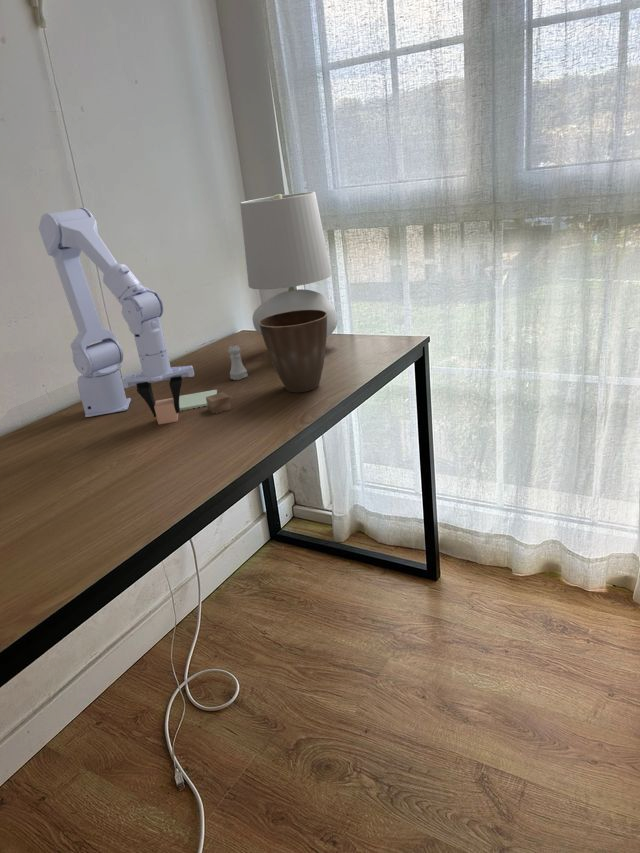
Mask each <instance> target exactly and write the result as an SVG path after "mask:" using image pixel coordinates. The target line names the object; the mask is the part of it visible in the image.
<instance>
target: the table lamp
mask: <svg viewBox="0 0 640 853" xmlns="http://www.w3.org/2000/svg"><path fill="white" fill-rule="evenodd" d="M239 204H240V213H241V224H242V234H243V242H244V243H243V244H244V253H245V254H244V256H245V264H246V274H247V284H248V287H249V288H250V289H253V290H279V289H285V288H287V289H288V290H286V291H282V292H280V293H277V294H275V295H273V296H272V297H270V298H268V299H267V300H265V301H264V302H262V303H261V304H260V305H259V306H258V307H257V308H256V309H255V310H254V312H253V314H252V324H253V327H254V329H255V331H256V333H258V334H259V335H260V337H262V338H263V336H262V332H261V329H260V326H259V321H260V320H262V319H264V318H266V317H268V316H271V315H275V314H279V313H283V312H289V311H296V310H322V311H325V312H326V313H327V338H328V337H329V336H331V335H332V334H333V332H335V330H336V328H337V326H338V317H337V313H336V310H335V307H334V305H333V304H332V302H331V301H330V300H329V299H328V298H327V297H326V296H325V295H324V294H322V293H320V292H319V291H315V290H311V289H298V288H297V289H295V287H301V286H305V285H308V284H309V285H310V284H313V283H317V282H320V281H323V280H326V279H328V278H330V277H331V276H332V275H333V273H332V269H331V264H330V259H329V254H328V248H327V244H326V240H325V239H326V238H325V234H324V230H323V225H322V220H321V215H320V211H319V210H320V209H319V204H318V199H317V193H316V192H315V191H307V192H296V193H289V194H280V193H279V194H275V195H274V194H273V196H267V197H262V198H256V199H251V200H246V201H241V202H240V203H239Z"/></svg>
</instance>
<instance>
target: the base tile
mask: <svg viewBox="0 0 640 853" xmlns="http://www.w3.org/2000/svg"><path fill="white" fill-rule="evenodd" d="M215 394H218V389H211V390H206V391H200V392H195V393H190V394H189V393H188V394H183V395H179V407H180V412H182V410H183V411H188V409H189V410H193V408H195V409H199V408H198V407H200V408H204V407H203V406H206V407H208V406H207V401H206V397H208V396H211V395H215Z"/></svg>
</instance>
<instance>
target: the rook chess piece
mask: <svg viewBox="0 0 640 853" xmlns="http://www.w3.org/2000/svg"><path fill="white" fill-rule="evenodd" d="M241 351H242V350H241V347H240V346H239V344H233V345H230V346H228V349H227V352H228V354H229V358H230V362H231V363H230V364H231V367H230V371H229V375H230V377H229V378H230V379H231V380H232V379H233V380H232V381H239V380H238V379H242V378H245V377H246V378H248V376H249V374H248V370H247V368H245V367H246V366H244V364H243V361H242V357H241V356H242V355H241V353H240V352H241ZM246 378H245V379H246ZM242 380H243V379H242Z"/></svg>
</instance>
